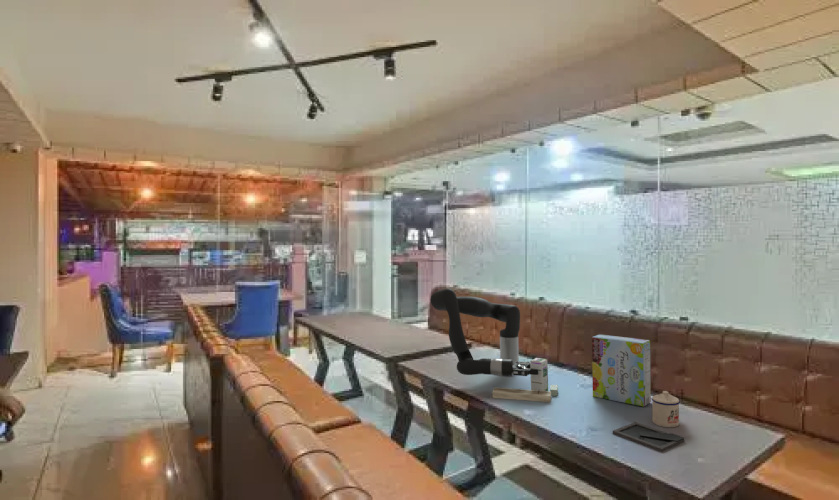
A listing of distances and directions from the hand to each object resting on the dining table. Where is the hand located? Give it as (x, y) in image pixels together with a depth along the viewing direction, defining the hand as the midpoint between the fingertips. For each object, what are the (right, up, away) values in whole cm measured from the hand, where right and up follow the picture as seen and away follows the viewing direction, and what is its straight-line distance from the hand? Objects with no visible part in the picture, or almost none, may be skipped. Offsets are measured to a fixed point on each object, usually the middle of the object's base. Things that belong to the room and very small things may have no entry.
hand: (538, 369), depth 221 cm
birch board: (-9, -10, -6) cm, 15 cm away
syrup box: (0, -10, 0) cm, 10 cm away
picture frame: (+25, -12, -49) cm, 57 cm away
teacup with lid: (+39, -11, -36) cm, 54 cm away
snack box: (+31, -10, -11) cm, 35 cm away
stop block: (+6, -10, -1) cm, 12 cm away
